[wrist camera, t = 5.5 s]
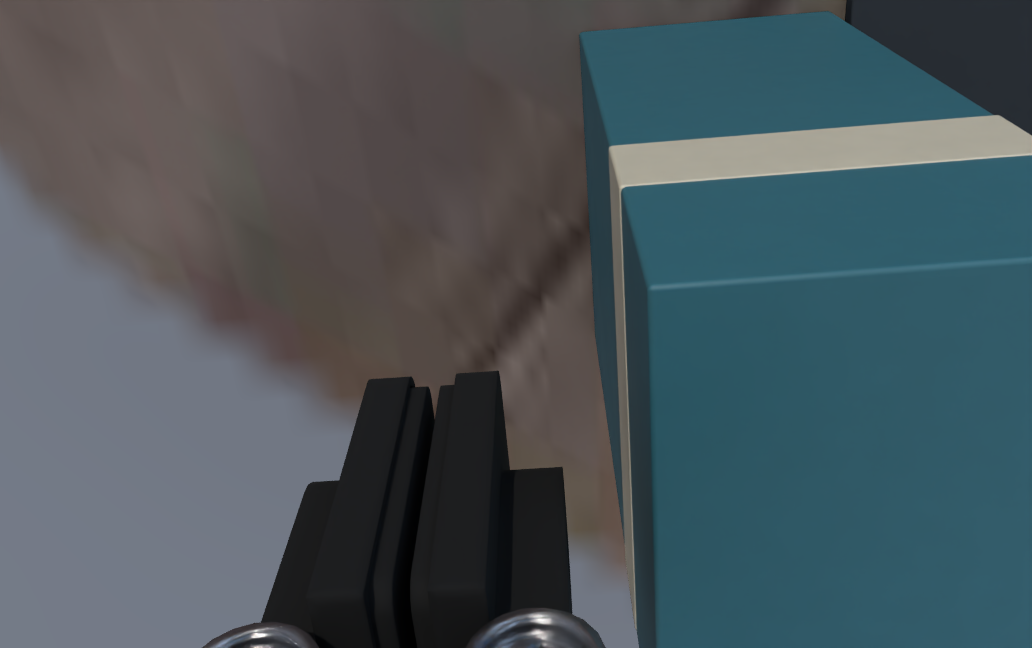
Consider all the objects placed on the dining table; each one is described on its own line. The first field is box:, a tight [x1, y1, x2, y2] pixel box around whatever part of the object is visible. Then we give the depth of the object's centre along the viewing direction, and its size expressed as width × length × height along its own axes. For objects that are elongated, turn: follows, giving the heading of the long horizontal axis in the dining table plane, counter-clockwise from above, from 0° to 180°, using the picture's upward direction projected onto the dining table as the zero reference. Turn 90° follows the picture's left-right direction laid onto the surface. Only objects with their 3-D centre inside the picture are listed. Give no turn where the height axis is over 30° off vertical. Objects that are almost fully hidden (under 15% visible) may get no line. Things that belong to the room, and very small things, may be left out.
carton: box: [579, 11, 1032, 648], centre depth 16 cm, size 5×7×12 cm
